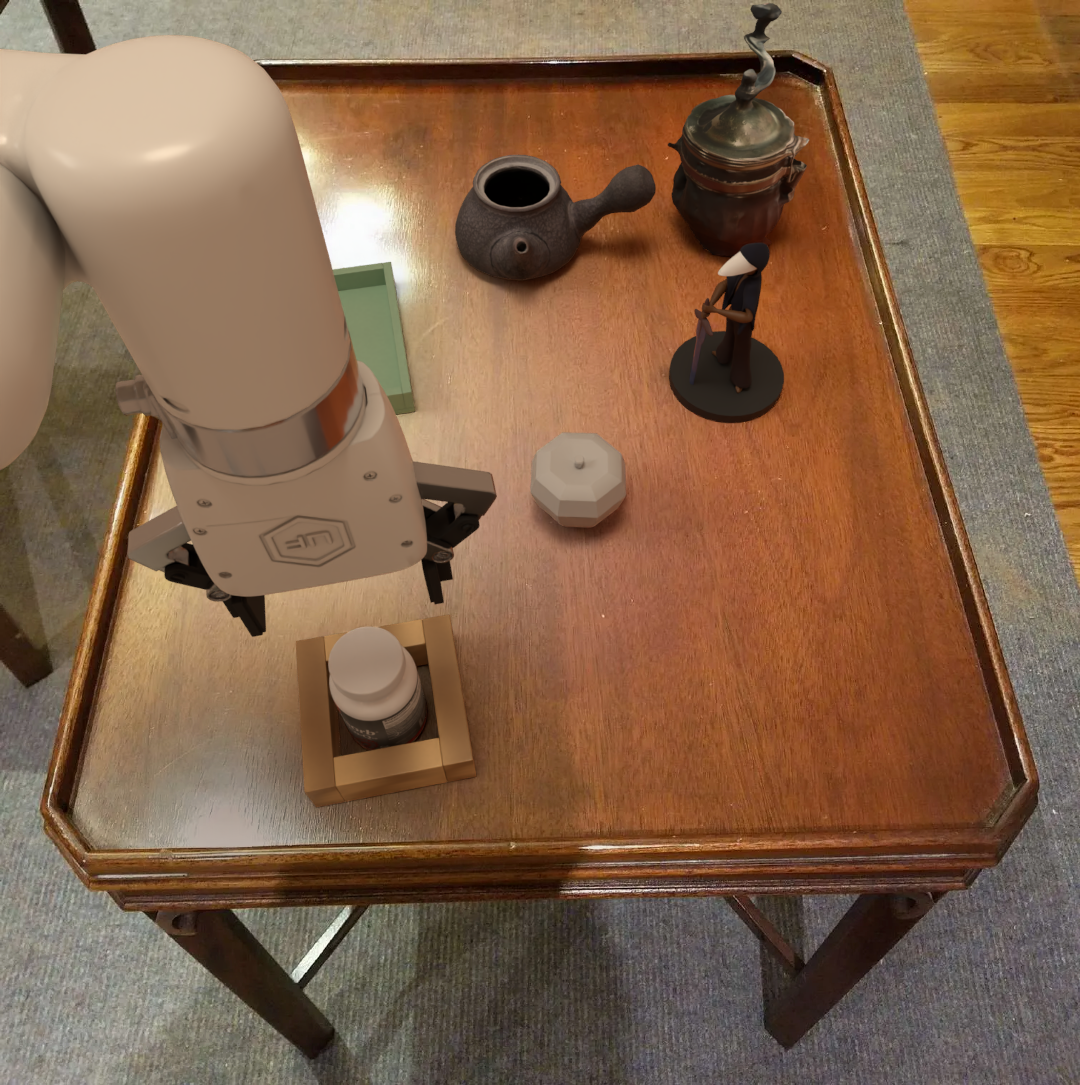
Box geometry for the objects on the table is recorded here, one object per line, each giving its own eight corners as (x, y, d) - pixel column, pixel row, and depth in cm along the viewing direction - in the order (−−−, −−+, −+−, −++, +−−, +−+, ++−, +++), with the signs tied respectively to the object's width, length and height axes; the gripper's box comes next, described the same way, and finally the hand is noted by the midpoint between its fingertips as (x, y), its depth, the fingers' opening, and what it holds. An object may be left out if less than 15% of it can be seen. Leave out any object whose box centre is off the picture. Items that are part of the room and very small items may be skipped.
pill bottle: (331, 718, 65) (299, 660, 57) (390, 665, 67) (368, 600, 59) (385, 772, 63) (360, 719, 55) (445, 715, 65) (430, 655, 57)
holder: (315, 807, 62) (304, 792, 59) (306, 661, 67) (295, 640, 64) (476, 776, 63) (473, 760, 60) (453, 635, 68) (449, 613, 66)
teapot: (456, 314, 86) (446, 227, 78) (456, 207, 95) (448, 118, 86) (655, 307, 87) (666, 220, 78) (638, 202, 95) (647, 112, 86)
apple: (640, 488, 76) (647, 438, 70) (603, 562, 72) (608, 516, 66) (552, 456, 77) (552, 405, 72) (511, 527, 74) (508, 479, 68)
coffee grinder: (779, 176, 97) (822, 1, 82) (787, 272, 89) (836, 98, 74) (659, 170, 98) (680, -5, 82) (656, 265, 90) (679, 91, 75)
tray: (235, 439, 79) (226, 419, 76) (231, 305, 87) (223, 284, 85) (415, 411, 80) (411, 391, 78) (394, 282, 89) (390, 261, 87)
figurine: (650, 354, 83) (669, 218, 71) (750, 326, 85) (785, 189, 73) (698, 435, 78) (727, 304, 66) (802, 404, 80) (850, 271, 68)
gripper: (24, 501, 33) (186, 688, 47) (497, 424, 34) (514, 628, 49) (43, 350, 37) (188, 566, 51) (467, 288, 38) (491, 514, 53)
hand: (347, 596), depth 50 cm, fingers open, 9 cm apart
